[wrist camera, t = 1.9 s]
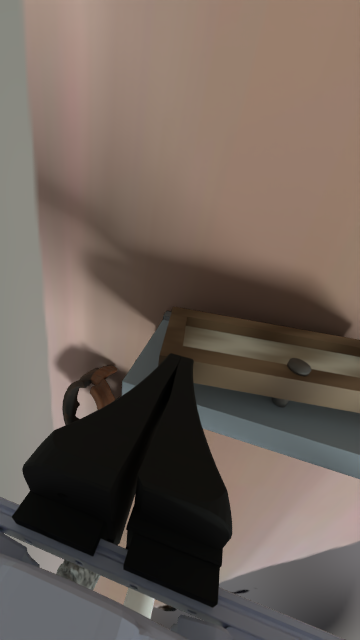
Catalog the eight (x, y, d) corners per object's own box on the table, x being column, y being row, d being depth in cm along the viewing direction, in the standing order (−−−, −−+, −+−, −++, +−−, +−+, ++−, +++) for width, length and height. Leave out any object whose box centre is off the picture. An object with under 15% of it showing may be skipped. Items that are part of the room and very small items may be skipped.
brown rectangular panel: (377, 339, 17) (456, 404, 11) (353, 369, 18) (414, 438, 13) (173, 303, 17) (160, 350, 11) (168, 336, 18) (154, 391, 13)
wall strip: (382, 365, 19) (491, 488, 11) (351, 403, 21) (419, 525, 13) (166, 310, 21) (122, 375, 13) (161, 349, 24) (121, 424, 16)
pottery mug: (108, 414, 33) (55, 440, 26) (112, 354, 33) (59, 364, 26) (173, 443, 28) (128, 486, 20) (179, 370, 27) (135, 389, 20)
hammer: (74, 515, 69) (80, 505, 50) (105, 521, 71) (123, 513, 52) (48, 588, 58) (43, 611, 39) (86, 593, 60) (99, 617, 41)
